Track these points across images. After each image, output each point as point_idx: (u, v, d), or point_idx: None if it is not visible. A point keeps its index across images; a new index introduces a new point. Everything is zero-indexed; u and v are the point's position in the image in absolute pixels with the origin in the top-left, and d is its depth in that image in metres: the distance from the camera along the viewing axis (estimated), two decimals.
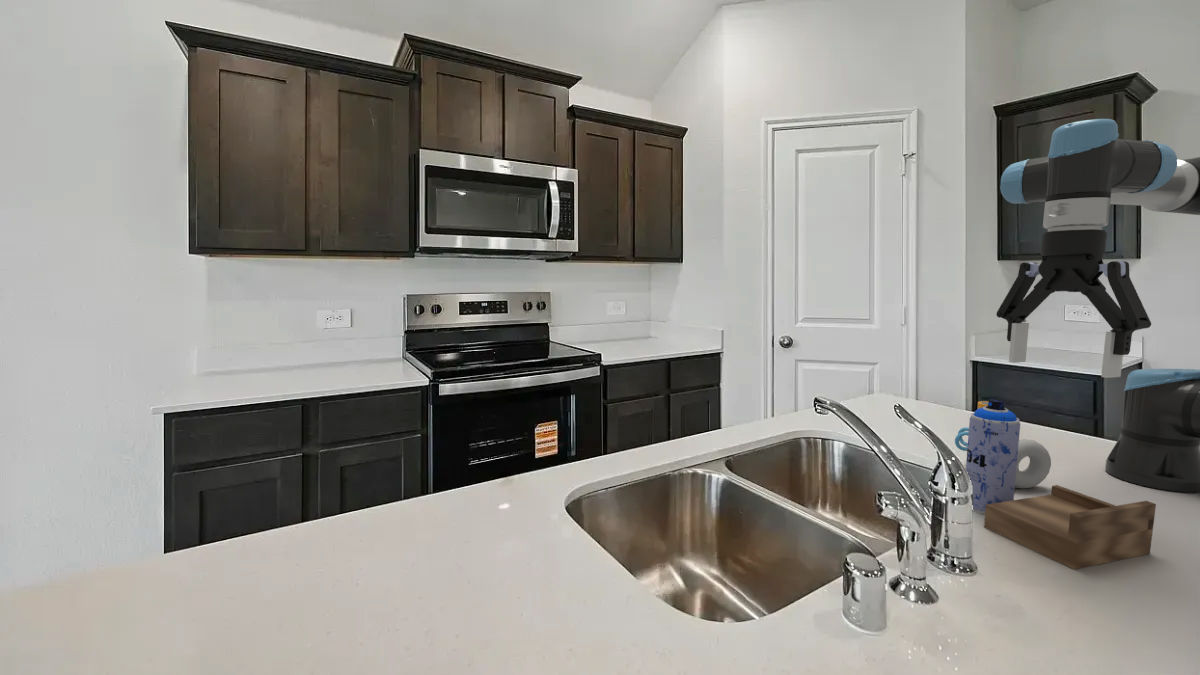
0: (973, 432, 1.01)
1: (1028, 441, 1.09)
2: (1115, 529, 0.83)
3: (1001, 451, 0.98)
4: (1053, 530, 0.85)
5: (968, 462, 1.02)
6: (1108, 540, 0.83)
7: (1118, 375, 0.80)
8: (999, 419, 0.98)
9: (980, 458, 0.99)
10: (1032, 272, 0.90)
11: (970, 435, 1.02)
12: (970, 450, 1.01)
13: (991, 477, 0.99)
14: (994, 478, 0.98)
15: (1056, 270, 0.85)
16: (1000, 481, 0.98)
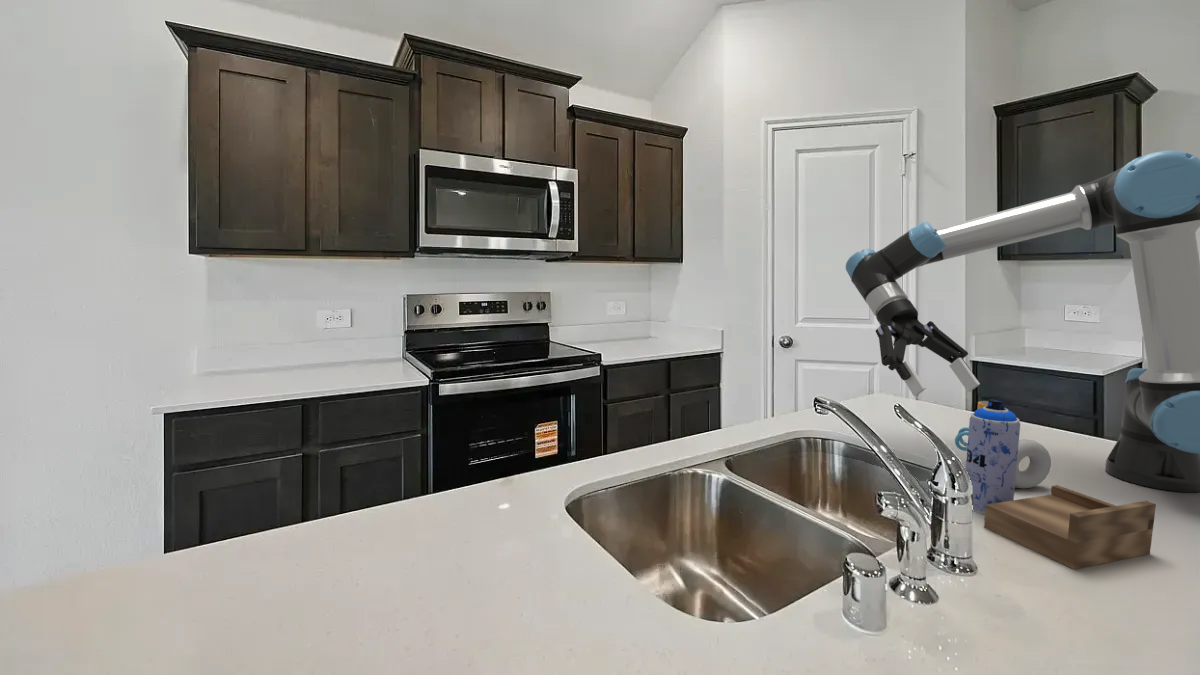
0: (973, 432, 1.01)
1: (1028, 441, 1.09)
2: (1115, 529, 0.83)
3: (1001, 451, 0.98)
4: (1053, 530, 0.85)
5: (968, 462, 1.02)
6: (1108, 540, 0.83)
7: (920, 389, 1.07)
8: (999, 419, 0.98)
9: (980, 458, 0.99)
10: None
11: (970, 435, 1.02)
12: (970, 450, 1.01)
13: (991, 477, 0.99)
14: (994, 478, 0.98)
15: None
16: (1000, 481, 0.98)
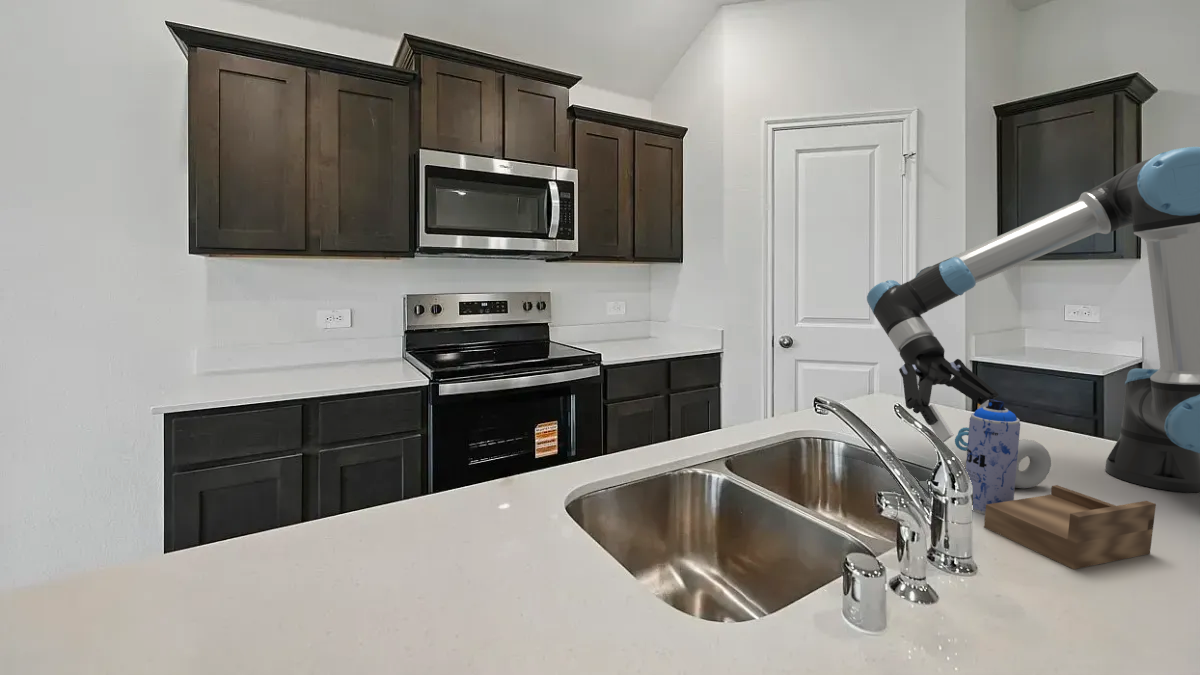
0: (973, 432, 1.01)
1: (1028, 441, 1.09)
2: (1115, 529, 0.83)
3: (1001, 451, 0.97)
4: (1053, 530, 0.85)
5: (968, 462, 1.02)
6: (1108, 540, 0.83)
7: (948, 435, 1.01)
8: (999, 419, 0.98)
9: (980, 458, 0.99)
10: None
11: (970, 435, 1.02)
12: (970, 450, 1.01)
13: (991, 477, 0.99)
14: (994, 478, 0.98)
15: None
16: (1000, 481, 0.98)
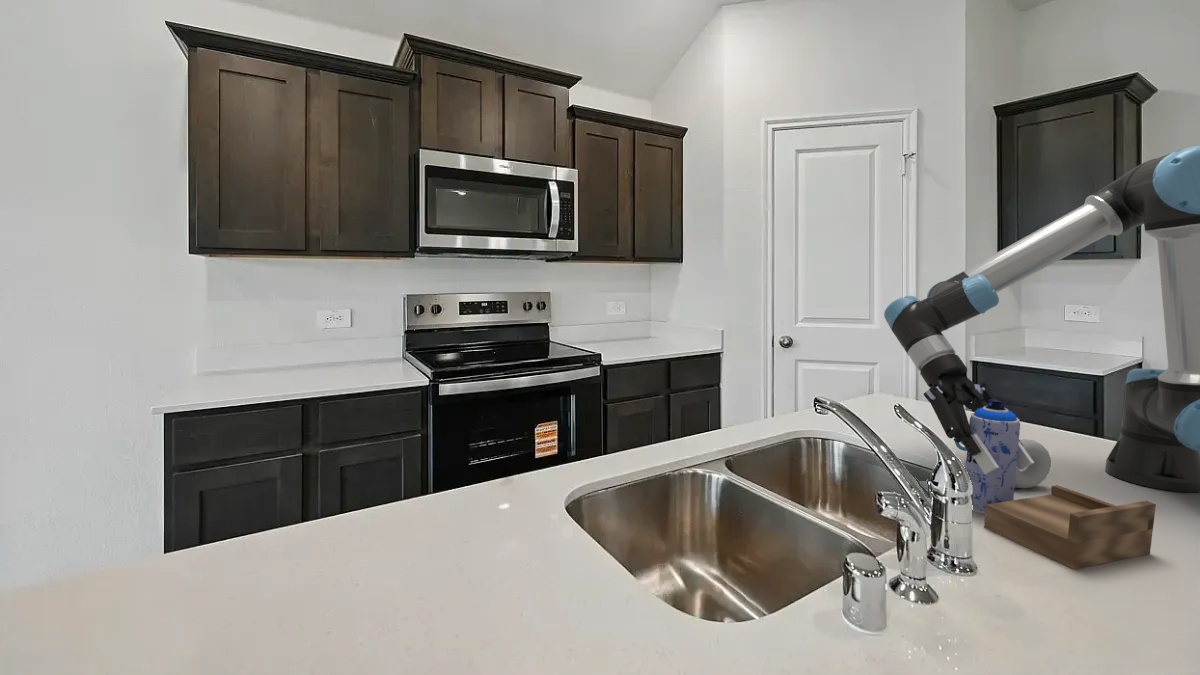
0: (973, 432, 1.01)
1: (1028, 441, 1.09)
2: (1115, 529, 0.83)
3: (1001, 451, 0.98)
4: (1053, 530, 0.85)
5: (968, 462, 1.02)
6: (1108, 540, 0.83)
7: (993, 467, 0.96)
8: (999, 419, 0.98)
9: None
10: None
11: None
12: None
13: (990, 477, 0.99)
14: (994, 478, 0.98)
15: None
16: (1000, 481, 0.98)
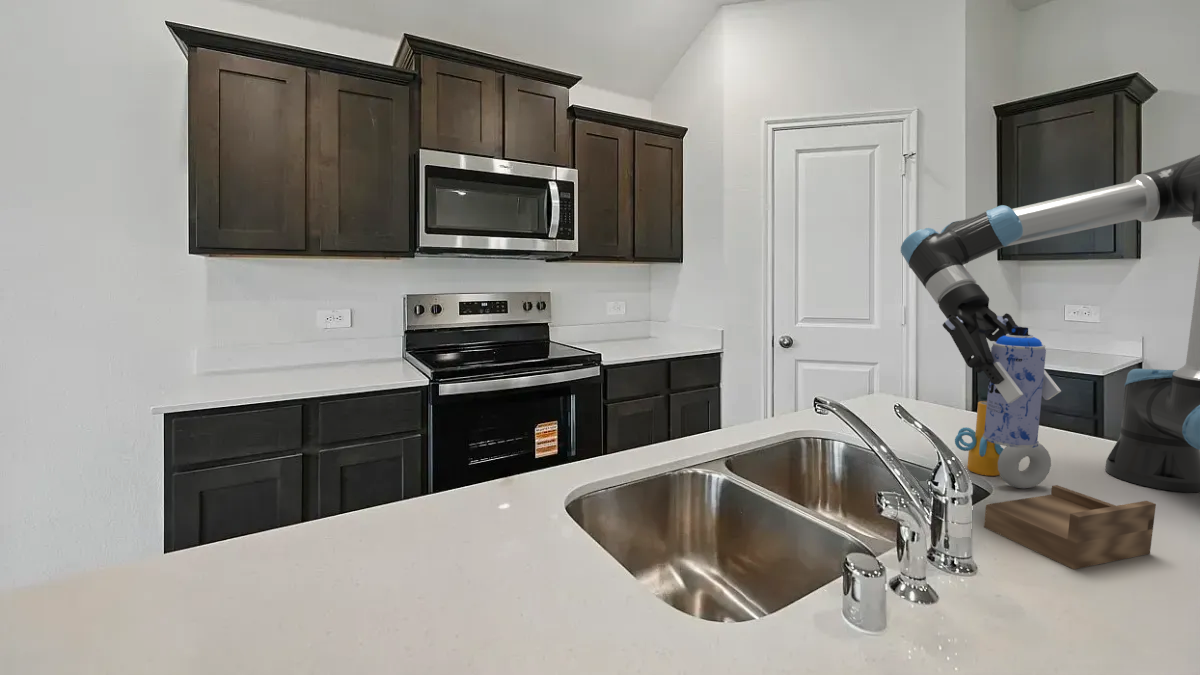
0: (995, 361, 0.95)
1: None
2: (1115, 529, 0.83)
3: (1025, 378, 0.92)
4: (1053, 530, 0.85)
5: (989, 393, 0.97)
6: (1108, 540, 0.83)
7: (1017, 395, 0.91)
8: (1023, 344, 0.92)
9: None
10: None
11: None
12: None
13: (1014, 406, 0.93)
14: (1017, 407, 0.93)
15: None
16: (1024, 410, 0.93)
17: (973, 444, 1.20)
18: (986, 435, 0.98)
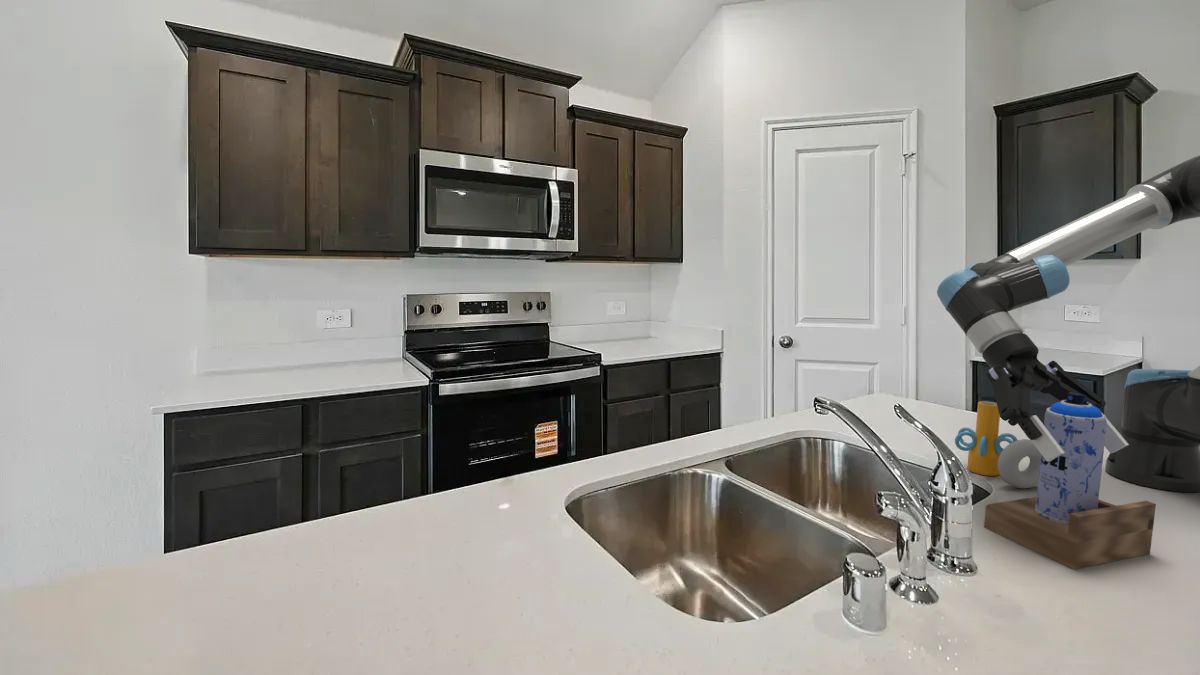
0: (1050, 430, 0.88)
1: (1028, 441, 1.09)
2: (1115, 529, 0.83)
3: (1085, 452, 0.85)
4: (1053, 530, 0.85)
5: (1043, 464, 0.89)
6: (1108, 540, 0.83)
7: (1057, 453, 0.84)
8: (1082, 415, 0.85)
9: (1060, 460, 0.87)
10: None
11: None
12: None
13: (1072, 481, 0.86)
14: (1076, 483, 0.85)
15: None
16: (1084, 486, 0.85)
17: (973, 444, 1.20)
18: (1039, 509, 0.90)
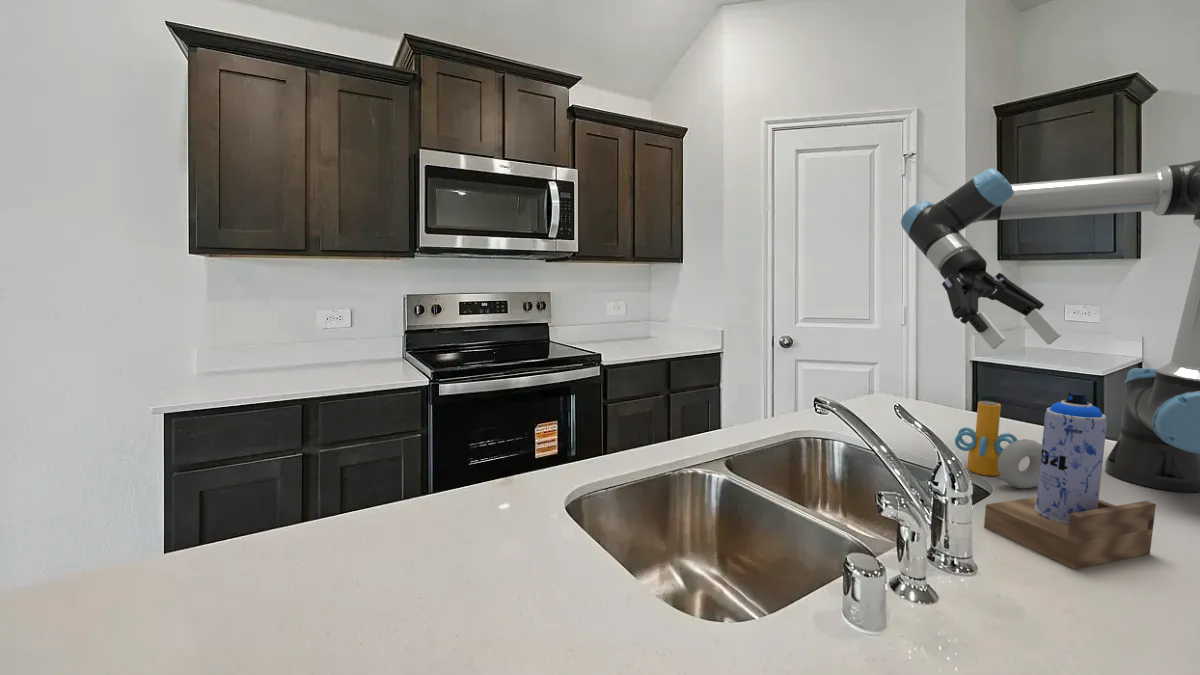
0: (1050, 430, 0.88)
1: (1028, 441, 1.09)
2: (1115, 529, 0.83)
3: (1085, 452, 0.85)
4: (1053, 530, 0.85)
5: (1043, 464, 0.89)
6: (1108, 540, 0.83)
7: (1000, 340, 0.99)
8: (1083, 414, 0.85)
9: (1060, 460, 0.87)
10: None
11: (1046, 433, 0.89)
12: (1047, 451, 0.89)
13: (1072, 481, 0.86)
14: (1076, 482, 0.86)
15: None
16: (1084, 486, 0.85)
17: (973, 444, 1.20)
18: (1039, 509, 0.90)
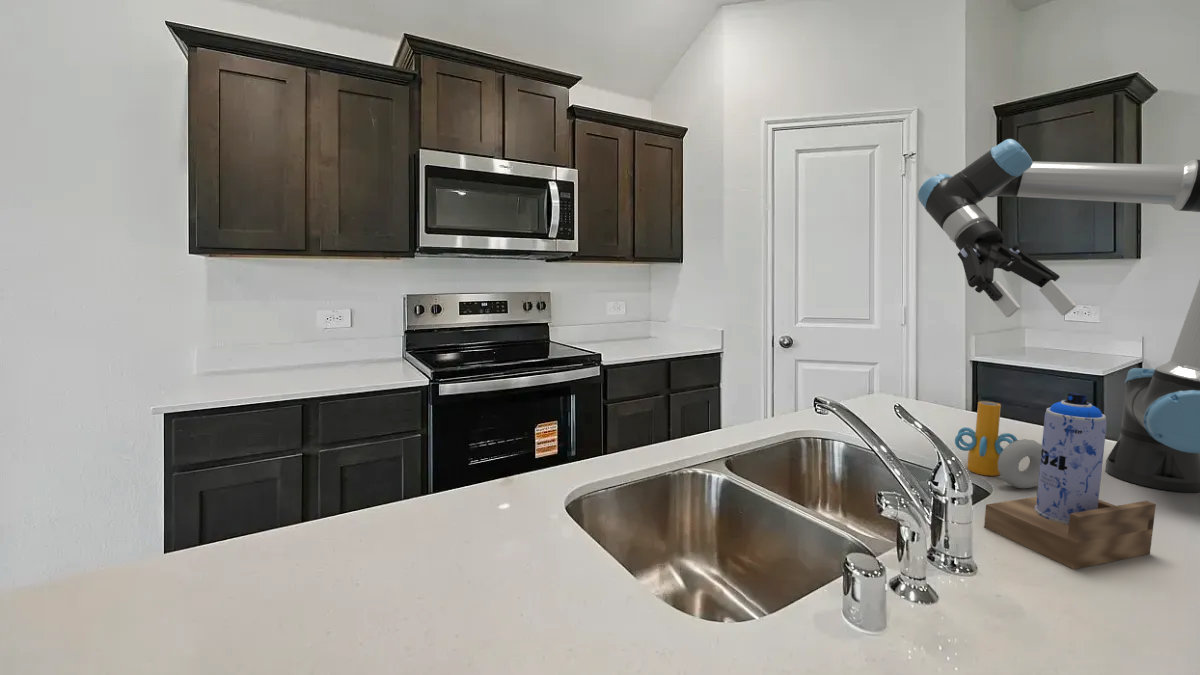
0: (1050, 430, 0.88)
1: (1028, 441, 1.09)
2: (1115, 529, 0.83)
3: (1085, 452, 0.85)
4: (1053, 530, 0.85)
5: (1043, 464, 0.89)
6: (1108, 540, 0.83)
7: (1014, 308, 0.99)
8: (1082, 414, 0.85)
9: (1060, 460, 0.87)
10: None
11: (1046, 433, 0.89)
12: (1047, 451, 0.89)
13: (1072, 481, 0.86)
14: (1076, 482, 0.86)
15: None
16: (1084, 486, 0.85)
17: (973, 444, 1.20)
18: (1039, 509, 0.90)
